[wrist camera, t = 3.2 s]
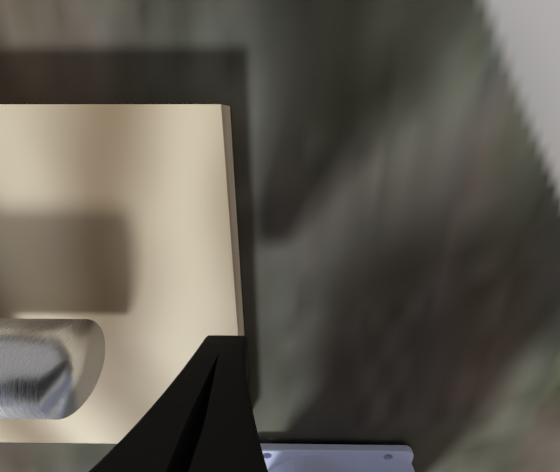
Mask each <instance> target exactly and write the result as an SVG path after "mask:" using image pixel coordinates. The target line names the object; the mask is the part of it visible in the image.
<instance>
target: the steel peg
mask: <svg viewBox="0 0 560 472" xmlns="http://www.w3.org/2000/svg"><path fill="white" fill-rule="evenodd" d="M104 359H105V338H104V334H103V331H102V329H101V327H100V326H99V325H98V324H97V323H96V322H95V321H93V320H90V319H13V318H0V419H53V420H59V419H64V418H66V417H68V416H70V415H72V414H73V413H75V412H76V411H77V410H78V409H79V408H80V407H81V406H82V405H83V404H84V403H85V402H86V400H87V399H88V398H89V396H90V395H91V393H92V392H93V390H94V388H95V386H96V384H97V382H98V379H99V377H100V374H101V371H102V368H103V364H104Z"/></svg>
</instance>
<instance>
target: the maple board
mask: <svg viewBox="0 0 560 472" xmlns="http://www.w3.org/2000/svg"><path fill="white" fill-rule="evenodd" d="M0 318H13V319H90V320H93V321H95V322H96V323H97V324H98V325H99V326H100V327H101V329H102V331H103V334H104V338H105V359H104V364H103V368H102V371H101V374H100V377H99V379H98V382H97V384H96V386H95V388H94V390H93V392H92V393H91V395H90V396H89V398H88V399H87V400H86V402H85V403H84V404H83V405H82V406H81V407H80V408H79V409H78V410H77V411H76V412H75V413H73V414H72V415H70V416H68V417H66V418H64V419H59V420H53V419H0V442H37V443H119V442H120V441H121V440H122V439H123V438H124V437H125V436H126V434H127V433H128V432H129V431H130V430H131V429H132V428H133V427H134V426H135V425H136V424H137V423H138V422H139V421H140V419H141V418H142V417H143V416H144V415H145V414H146V413H147V411H148V410H149V409H150V408H151V407H152V406H153V405H154V403H155V402H156V401H157V400H158V399H159V398H160V397H161V395H162V394H163V393H164V392H165V391H166V389H167V388H168V387H169V386H170V384H171V383H172V382H173V381H174V379H175V378H176V377H177V376H178V374H179V373H180V372H181V371H182V369H183V368H184V367H185V365H186V364H187V363H188V361H189V360H190V359H191V357H192V356H193V355H194V353H195V352H196V350H197V349H198V348H199V346H200V345H201V343H202V342H203V341H204V339H205V338H206V337H207V336H208V335H231V336H244V322H243V306H242V291H241V275H240V259H239V243H238V227H237V211H236V196H235V180H234V164H233V148H232V132H231V116H230V106H227V105H222V104H0Z"/></svg>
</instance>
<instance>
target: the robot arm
mask: <svg viewBox="0 0 560 472" xmlns="http://www.w3.org/2000/svg"><path fill="white" fill-rule="evenodd" d="M249 380H250V374H249V357H248V340H247V338H246V337H245V336H231V335H208V336H207V337H206V338H205V339H204V341H203V342H202V343H201V345H200V346H199V348H198V349H197V350H196V352H195V353H194V355H193V356H192V357H191V359H190V360H189V361H188V363H187V364H186V365H185V367H184V368H183V369H182V371H181V372H180V373H179V374H178V376H177V377H176V378H175V379H174V381H173V382H172V383H171V384H170V386H169V387H168V388H167V389H166V391H165V392H164V393H163V394H162V395H161V397H160V398H159V399H158V400H157V401H156V402H155V403H154V405H153V406H152V407H151V408H150V409H149V410H148V411H147V413H146V414H145V415H144V416H143V417H142V418H141V419H140V421H139V422H138V423H137V424H136V425H135V426H134V427H133V428H132V429H131V430H130V431H129V432H128V433H127V434H126V436H125V437H124V438H123V439H122V440H121V441H120V442H119V443H118V444H117V445H116V446H115V447H114V448H113V449H112V450H111V451H110V452H109V453H108V454H107V455H106V456H105V457H104V458H103V459H102V460H101V461H100V462H99V463H98V464H96V465H95V466H94V467H93V468H92V469H91V470H90V471H89V472H415V471H414V468H413V466H412V464H411V463H412V460H413V457H414V454H413V452H412V449H411V448H410V447H409V446H407V445H354V444H271V443H260V441H259V437H258V433H257V429H256V425H255V420H254V415H253V411H252V406H251V400H250V395H249Z"/></svg>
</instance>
